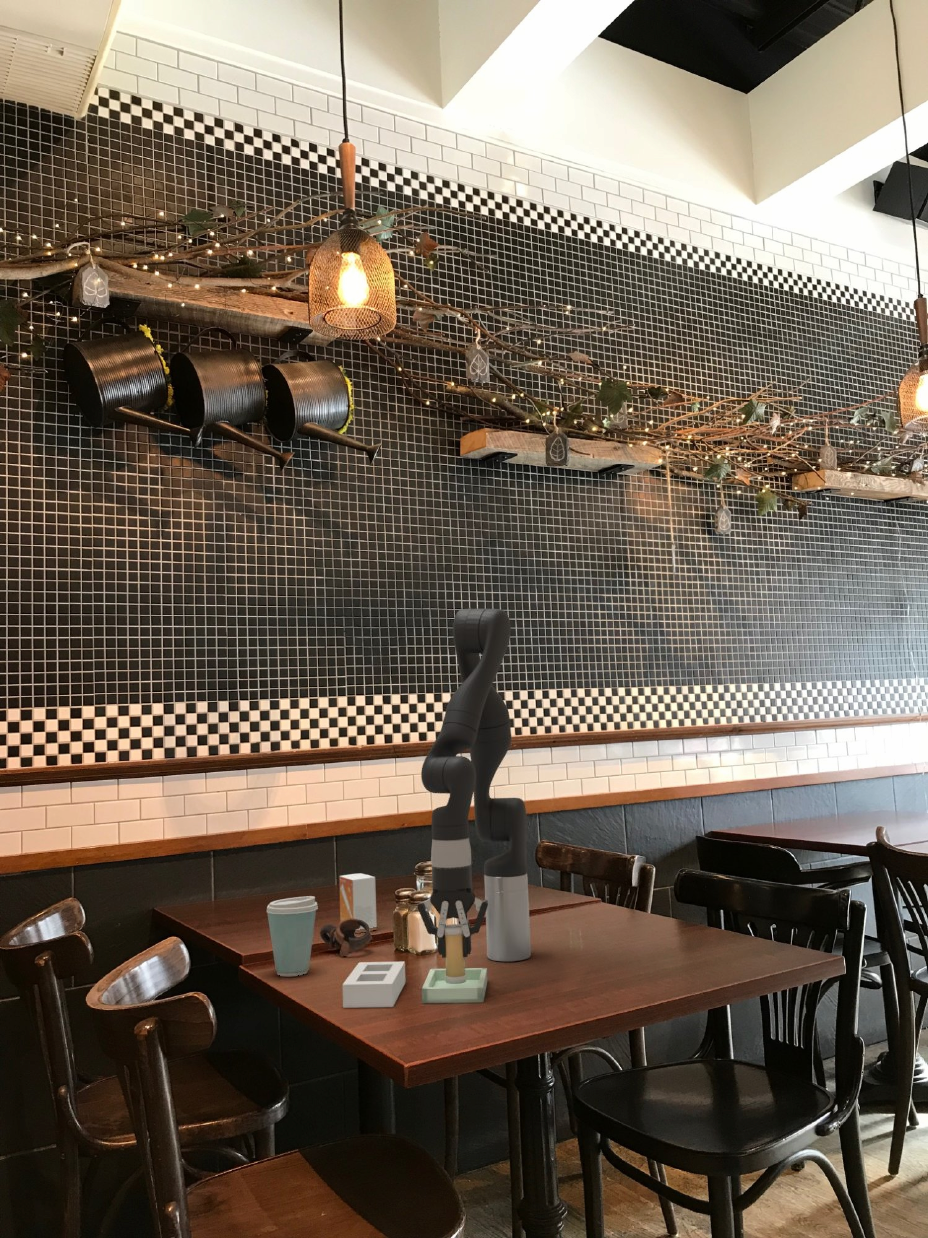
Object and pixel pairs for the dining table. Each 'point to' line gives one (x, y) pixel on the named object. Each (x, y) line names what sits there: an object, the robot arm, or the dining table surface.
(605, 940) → the dining table surface
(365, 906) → the small box
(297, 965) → the disposable coffee cup
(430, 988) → the parts tray
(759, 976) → the dining table surface
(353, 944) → the pottery mug
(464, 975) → the fuse
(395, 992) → the frame
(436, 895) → the robot arm
